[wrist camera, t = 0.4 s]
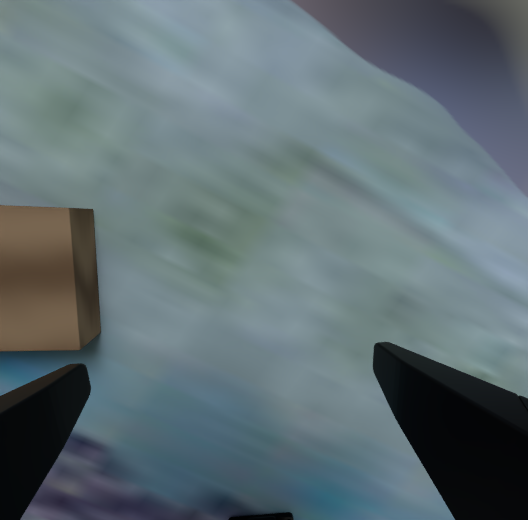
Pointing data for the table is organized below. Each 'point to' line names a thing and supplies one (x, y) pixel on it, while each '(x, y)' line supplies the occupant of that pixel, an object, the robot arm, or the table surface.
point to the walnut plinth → (47, 279)
